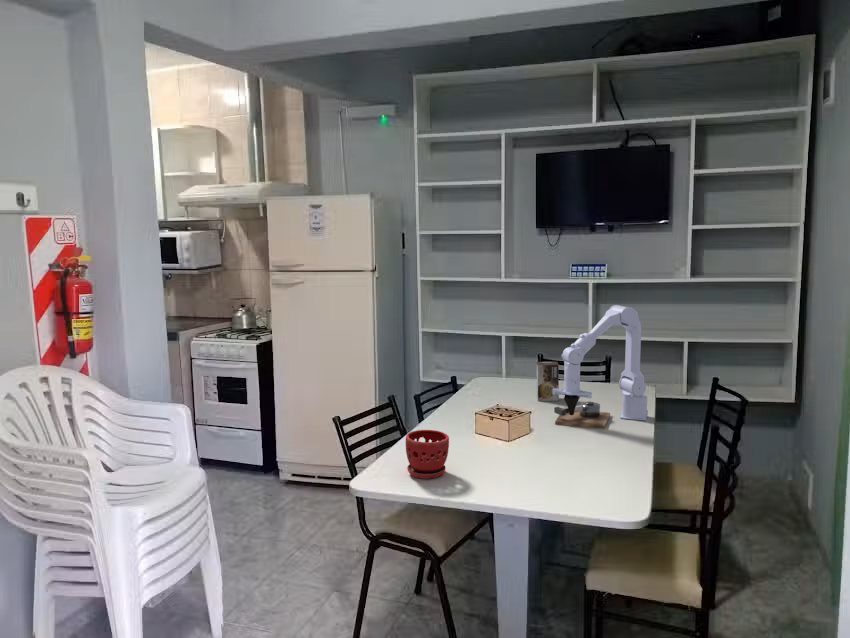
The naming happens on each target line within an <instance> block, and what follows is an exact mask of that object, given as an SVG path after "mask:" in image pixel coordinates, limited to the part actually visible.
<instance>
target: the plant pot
mask: <svg viewBox="0 0 850 638" xmlns="http://www.w3.org/2000/svg"><path fill="white" fill-rule="evenodd" d="M421 438H423V439H424V441H420V439H421ZM430 440H431V441H430ZM449 446H450V437H449V435H448V434H447V433H445V432H443V431H440V430H434V429H418V430H413V431H410V432H408V433H407V434H406V435H405V453H406V458H407V461H408V465H407V466H406V470H407V472H408V473H409V474H410V475H412V476H413V477H415V478H419V479H434V478H438V477H440V476H442V475H443V474H444V473H445V471H446V466H445V463H446V461H447V458H448V455H449Z"/></svg>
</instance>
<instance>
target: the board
mask: <svg viewBox="0 0 850 638" xmlns="http://www.w3.org/2000/svg"><path fill="white" fill-rule="evenodd" d="M610 415H611V413H610V412H608V411H607V412H605V411H600V416H598V417H584V416H581V415H580V412H574V415H570V414H569V413H567V414H566V415H564V416H561V415H559V414H558V416H557V418H556V419H555V420H554V422H555V423H554V425H558V426H569V427H579V428H591V429H597V430H599V429H600V430H605V428H606V427H607V423H608V422H609V419H610Z"/></svg>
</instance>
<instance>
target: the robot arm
mask: <svg viewBox="0 0 850 638" xmlns="http://www.w3.org/2000/svg"><path fill="white" fill-rule="evenodd" d="M638 315H639V313H638V311H636V310H635V309H634V308H633V307H631V306H623V305H619V304H613V305H611V306H610V308H609V309H608V310H606V311H605V314H604V315H603V316H602V318H601V319H600V320H599V321H598V322H597V324H595V326H594V327H593V328H592V329H590V331H589V332H584V333H581V334H580V335H579V337H578V338H577V339H576V341H575V342H573V343H571V344H570V346H569V347H566V348H564V350H563V351H562V354H561V355H560V356H561V359H562V360H563V362H564V363H563V364H564V365H563V366H564V367H563V369H564V371H563V372H564V375H563V376H564V380H563V384H564V385H563V388H559V389H556V388H554V389H553V394H554V395H555V394H559V396H560V395H562V396H564V397H563V400H564V402H565V404H566V407H568V409H569V414H570V415H574V411H575V407H576V406H577V404H578V402H579V400H580V398H587V399H592V398H593V392H592V391H586V390H581V363H582V362H583V361H584V357H585V355H586V354H587V353H588V352H589V351H590V350H591V348H593V347H595V345H596V343H597V339H598V338H599V337H600V336H601V335H602V334H604V333H605V332H606V331H607V330H608V329H610V327H612V326H618V325H620V326H621V327H623V328H624V329H625V352H624V353H625V357H624V370H623V371H622V372H621V374H620V379H619V380H618V381H619V382H618V387H619V389H620V390H621V393H622V394H621V396H622V400H621V413H620V416H619V418H620V419H622V420H623V419H626V420H635V421H646V420H647V418H648V414H649V413H648V411H649V410H648V395H644V394H645V392H646V390H647V384H646V382H645V376H644V375H643V373H642V372H641V348H642V347H641V345H642V344H641V343H642V341H641V340H642V324H641V321H640V319H639V316H638Z"/></svg>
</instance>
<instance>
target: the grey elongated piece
mask: <svg viewBox="0 0 850 638" xmlns="http://www.w3.org/2000/svg"><path fill="white" fill-rule="evenodd" d="M553 409H554V411H553V412H554V414H557V415H558V416H559V415H561V416H564V415H566V414H567V413H569V409H568V406H566V407H564V406H563V407H560V406H554V408H553ZM574 412H580V415H581V416H584V417H598V416H600V412H601V405H600V403H598V402H595V401H583V402H580V403H579V405H576V407H575V411H574Z"/></svg>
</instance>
